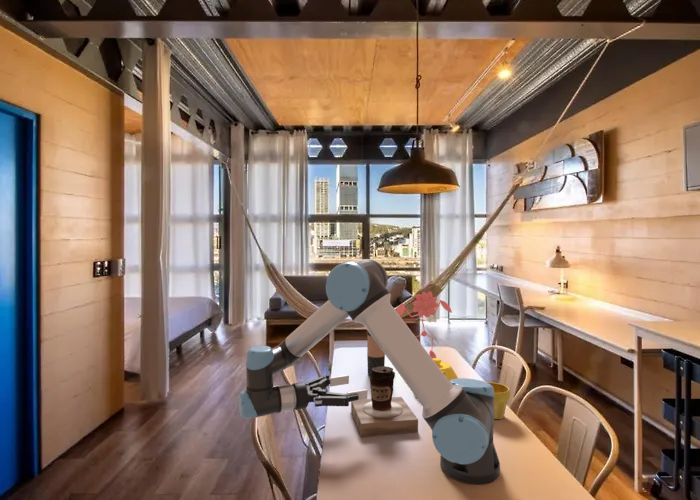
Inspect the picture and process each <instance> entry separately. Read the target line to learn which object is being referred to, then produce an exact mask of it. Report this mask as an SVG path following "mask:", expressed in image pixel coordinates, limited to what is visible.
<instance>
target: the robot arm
mask: <svg viewBox="0 0 700 500" xmlns="http://www.w3.org/2000/svg"><path fill="white" fill-rule="evenodd" d="M388 279H389V278H388V274H387V272H386V269H385V267H384V266H383V265H382V264H381V263H380V262H378V261H376V260H374V259H369V258H363V259H358V260H346V261H344V262H342V263H339V264H338V265H337V264H336V266H334V267H333V268H332V269H331V271H330V272H329V273H328V275H327V277H326V283H325V294H326V296H327V301H326V302H324V303H323V304H322V305H321V306H320V307H318V309H316V310H315V311H314V313H312V314H311V315H310V316H309V317H308V318H307V319H305V320H304V322H302V323H301V324H299V326H298V327H297V328H295V330H293V331H292V332H291V333H290V334H288V336H287V337H285V339H284V340H282V341H281V342H280V343H279V344H278V345H276V346H273V347H270V346H268V345H258V346H253V347H251V348H249V349H248V350H247V352H246V361H245V366H246V367H245V368H246V375H245V376H246V388H245V390H242V391H240V392H239V394H238V399H237V400H238V401H237V403H238V404H237V406H238V411H239V415H240V417H241V419H244V420H245V419H253V418H256V419H257V418H260V417H265V416H269V415H275V414H285V413H286V412H292V411H294V410H295V411H298V410H304V409H307V407H309V403H314V407H317V408H318V407H349V406H350V403H351V402H352V401H357V400H363V399H368V389H366V388H364V389H359V390H352V391H348V392H346V393H340V392H331V391H327V390H326V388H327V387H328V386H329V387H335V386H341V385H349V384H350V375H349V374H346V375H340V376H339V375H337V376H333V377H330V375H329V374H326V375H321V376H319V377H317V378H315V379H314V378H313V379H311V380H309V381H305V382H303V381H302V382H301V381H300V382H296V383H295V382H294V383H292V384H291V383H288V384H287V383H286V384H282V385H280V384H279V385H277V386H276V385H275V386H274V376H275V375H277V374H279V373H281V372H283V371H284V370H286V369H288V368H290V367H293V366H294V365H296V364H297V363H298V362H299V361H300V360H301V358H302V357H303V356H304V355H305V354H306V353H307V352H308V351H310V350H311V349H313V348H314V346H315V345H317V344H318V343H319V342H321V340H323V339H324V338H325V337H326V336H328V335H329V334H330V333H331V332H332V331H333V330H334V329H335V328H337V327H338V326H339V325H340V324H341V323H343V322H344V321H345V320H346V319H348V318H349V317H350V319H351V320H352V321H353V323H355V324H356V323H358V324H362V325H363V326H364V327H365V329H366V330H367V333H368V332H369V333H370V334H371V336H372V337H373V339H374V340H375V341H376V343H377V344H378V345H379V347H380V348H381V350H382V351H383V352H384V354H385V357H386V358H387V359H388V361H389V362H390V363H391V365H392V366H393V368H394V369H395V370H396V372H397V373H398V375H399V376H400V377H401V378H402V380H403V381H404V383H405V384H406V386H407V387H408V388H409V390H410V391H411V392H412V394H413V395H414V396H415V398H416V399H417V401H418V402H419V403H420V404H421V406H422V415H421V416H422V419H424V421H425V422H426V424H427V425H428V426H429V428H430V430H431V437H432V442H433V447H434V448H435V449H436V451H437V452H438V453H439V455H440V456H439V457H440V459H439V461H440V463H439V465H440V468H441V470H442V471H443V472H444V474H446V475H447V476H449V477H450V478H451V479H453V480H455V481H458V482H461V483H464V484H469V485H487V484H490V483H493V482H495V481H496V480H498V479H499V477H500V475H501V464H500V459H499V456H498V453H497V450H496V447H495V443H494V423H495V422H494V398H495V395H494V388H493V386H492V385H490V384H489V383H487V381H483V380H480V379H474V378H464V377H463V378H461V377H460V378H459V377H458V379H452V380H450V381H449V380H448V379H447V378H446V376H445V375H444V374H443V372H442V371H441V370H440V368H439V367H438V366H437V364H436V363H435V362H434V360H433V359H432V358H431V357H430V354H429V353H428V351H427V350H426V349H425V347H424V346H423V345H422V343H421V341H419V340H418V337H417V336H415V334H414V333H413V332H412V330H411V329H410V328H409V326H408V324H407V323H406V322H405V321H404V320H403V318H402V316H399V314H398V313H397V312H396V311H397V309H395V307H393V306H392V304H391V297H392V294H391V292H390V291H389V290H388V288H387V287H388V282H389V281H388ZM252 417H253V418H252Z"/></svg>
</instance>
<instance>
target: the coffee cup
mask: <svg viewBox="0 0 700 500" xmlns="http://www.w3.org/2000/svg"><path fill="white" fill-rule="evenodd" d="M395 378H396V373H395V371H394V367H393V368H392V367H390V366H385V365H384V366H381V367H375V368H372V371H371V372H370V376H369V380H370V382H369V383H370V396H371V397H370V399H372V408H373V409H375V410H378V411H388V410H391V408H392V406H391V400H392V397H393V393H394V381H395Z"/></svg>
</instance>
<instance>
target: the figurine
mask: <svg viewBox="0 0 700 500" xmlns="http://www.w3.org/2000/svg"><path fill="white" fill-rule="evenodd" d="M414 297H415V299H416V300H414V301H413V302H412V305H413V306H414V307H413V309H412V311H413V313H418V314H414V315H411V314H410V312H409V311H408V310H407V308H406V307H405V305H404V304H403V303H401V304H399V305H398V306H397V309H396V312H397V313H398V314H399V316H400V317H402V316H403V314H404V313H405V311H406V313H407V315H409V317H410V318H414V317H417V316H418V317H419V318H421V324H422V327H423V328H422V329H423V330H422V331H421V333H420V334H419V335H417V336H416V338H419V337H421V336H422V337H427V336H428V337H431V348H433V347H434V346H433V344H434V343H433V341H434V337H433V336H432V335H429V334H428V332H427V331H426V329H425V325H424V317H425V318H430V316H435V314H436V313H437V311H438V308H439V306H440V305H441V306H442V308H443V309H444V310H446V311H447V312H449V313H451V314H452V308H451V307H450V305H449V304H448V303H447V302H446V301H445V300H442V299H440V300H439V302H437V300H438V297H437V296H433V292H432V291H428V292H425V291H422V292H421V293H420V294H419V293H417V294H415V296H414ZM428 354H429V355H430V357H431V358H432V359H433V358H437V355H436V353H435V351H433V349H431V350H429V353H428Z"/></svg>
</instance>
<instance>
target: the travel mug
mask: <svg viewBox="0 0 700 500" xmlns="http://www.w3.org/2000/svg"><path fill="white" fill-rule="evenodd" d="M366 347H367V349H366V351H367V352H366V353H367V356H366V358H367V361H366V362H367V375H368V376H369V377H370V372H371V371H372V368H375V367H381V366H385V363H386V359H385V358H386V355H385V354H384V352H383V351H382V350H381V348H380V347H379V345H378V344H377V343H376V341H375V340H374V339H373V337H372V336H371V334H370V333H369V332H368V331H367V346H366Z"/></svg>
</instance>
